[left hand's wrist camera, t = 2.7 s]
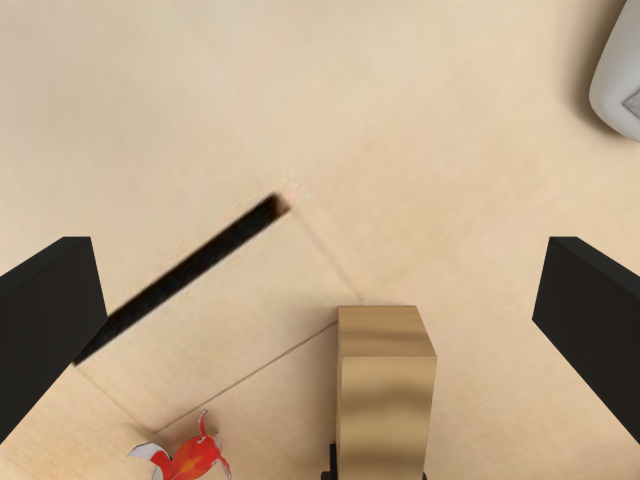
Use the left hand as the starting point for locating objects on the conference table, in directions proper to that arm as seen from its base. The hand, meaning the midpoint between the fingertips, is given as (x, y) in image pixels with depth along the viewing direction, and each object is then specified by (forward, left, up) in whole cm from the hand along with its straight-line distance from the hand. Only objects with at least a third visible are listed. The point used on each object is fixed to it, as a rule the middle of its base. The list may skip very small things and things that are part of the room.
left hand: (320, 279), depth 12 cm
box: (+30, +6, -29) cm, 43 cm away
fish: (+38, -16, -29) cm, 51 cm away
